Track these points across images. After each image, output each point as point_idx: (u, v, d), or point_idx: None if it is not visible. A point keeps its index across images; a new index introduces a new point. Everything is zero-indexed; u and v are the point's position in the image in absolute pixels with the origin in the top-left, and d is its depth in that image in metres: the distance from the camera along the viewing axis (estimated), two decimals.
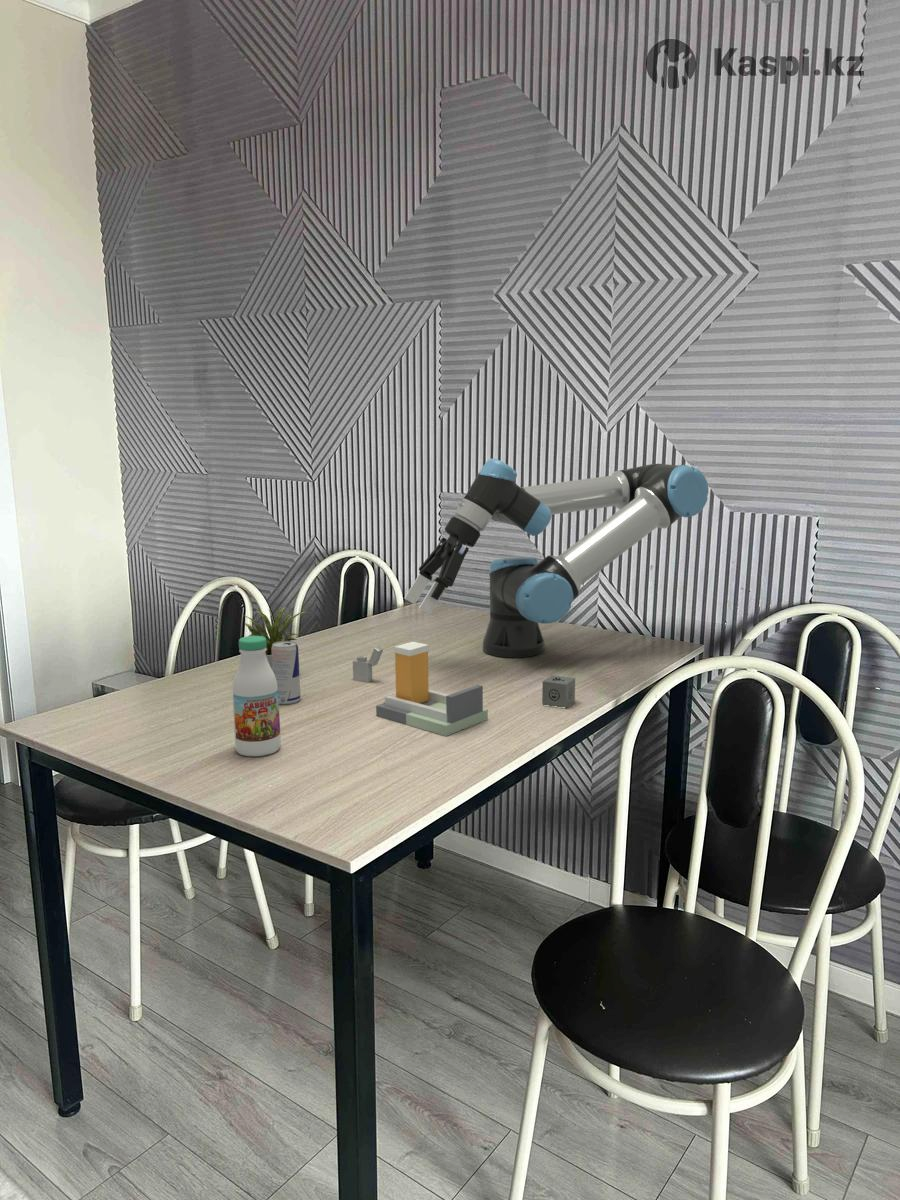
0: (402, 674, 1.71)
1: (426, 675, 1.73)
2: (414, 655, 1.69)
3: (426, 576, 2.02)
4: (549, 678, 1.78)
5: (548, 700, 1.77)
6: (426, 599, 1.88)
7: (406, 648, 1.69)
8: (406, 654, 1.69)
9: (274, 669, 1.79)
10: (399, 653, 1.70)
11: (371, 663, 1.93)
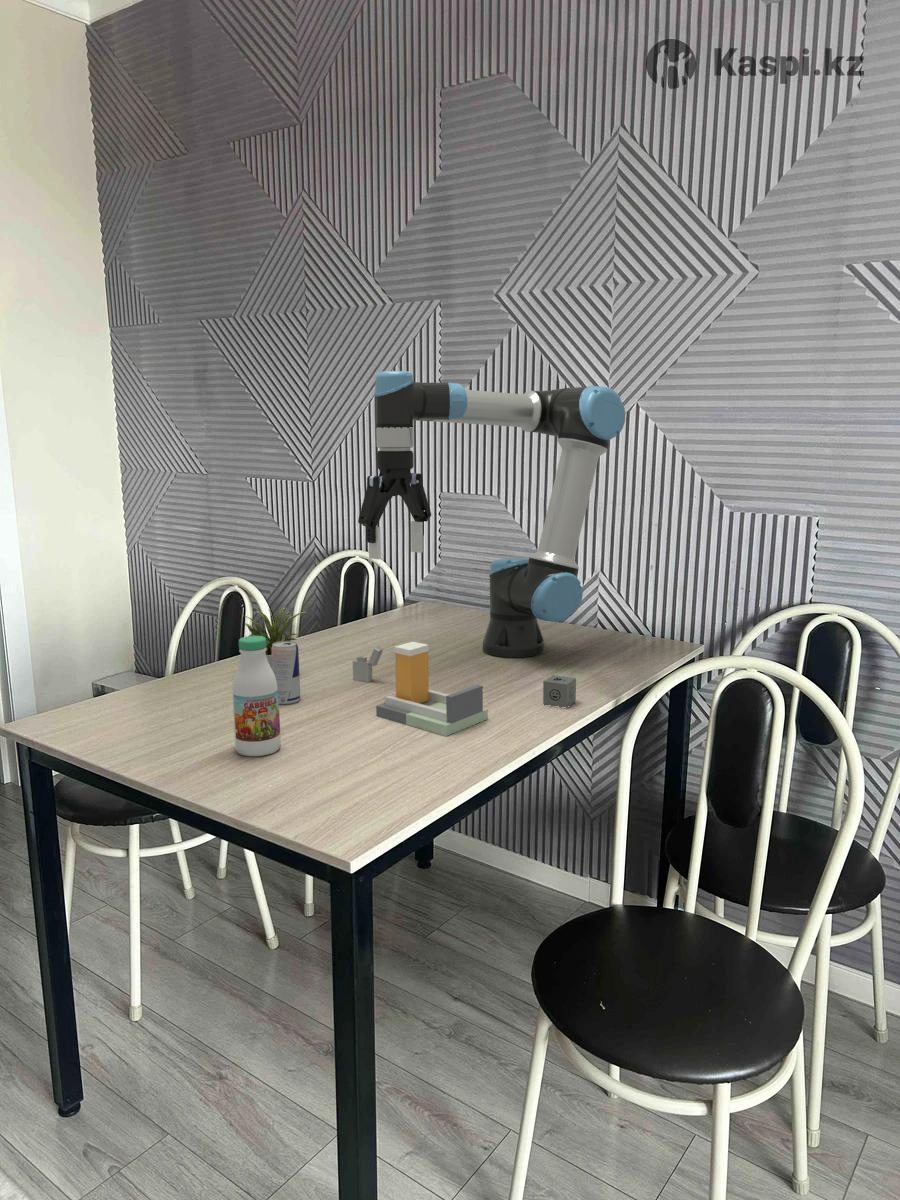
0: (402, 674, 1.71)
1: (426, 675, 1.73)
2: (414, 655, 1.69)
3: (419, 519, 1.88)
4: (550, 678, 1.78)
5: (549, 700, 1.77)
6: (369, 547, 1.80)
7: (406, 648, 1.69)
8: (406, 654, 1.69)
9: (274, 669, 1.79)
10: (399, 653, 1.70)
11: (371, 663, 1.93)
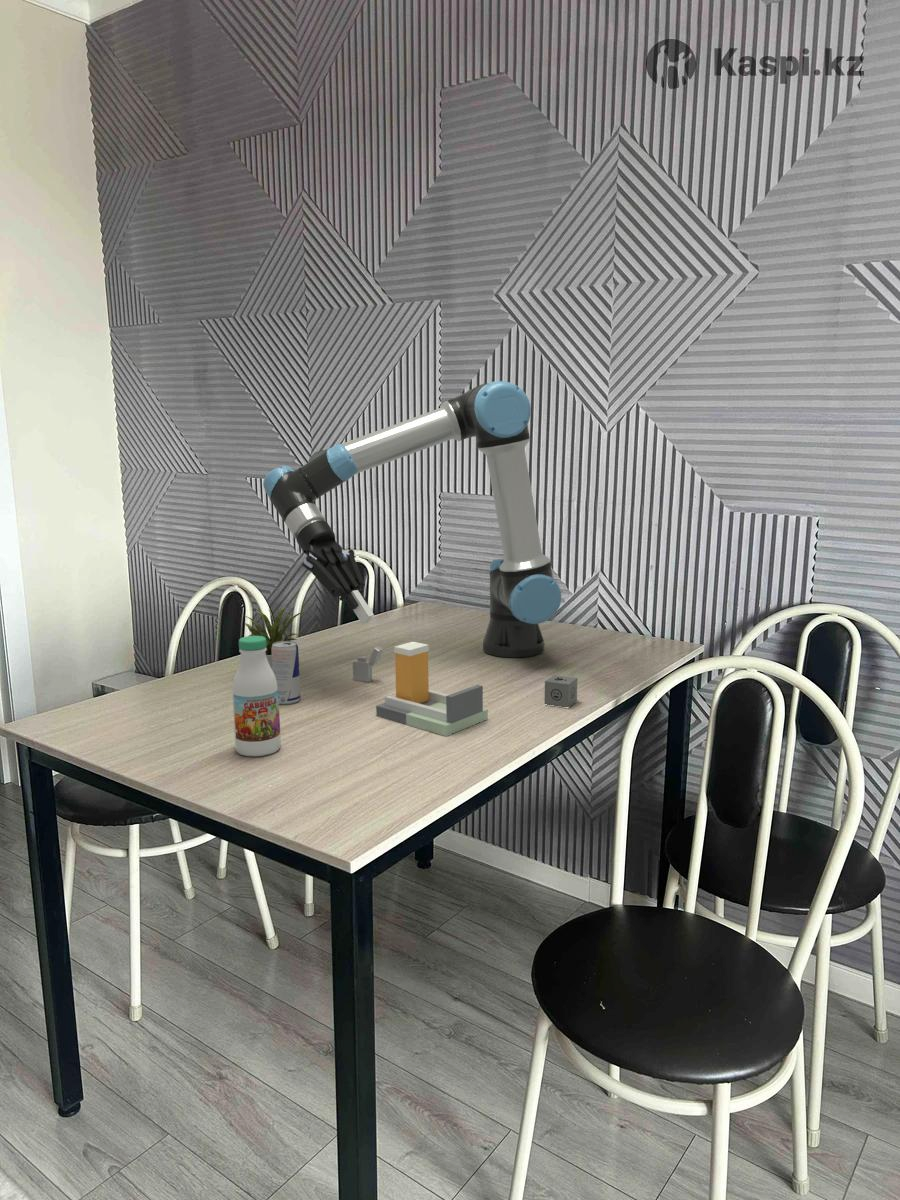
0: (402, 674, 1.71)
1: (426, 675, 1.73)
2: (414, 655, 1.69)
3: (353, 589, 1.81)
4: (551, 678, 1.78)
5: (550, 700, 1.77)
6: (357, 614, 1.79)
7: (406, 648, 1.69)
8: (406, 654, 1.69)
9: (274, 669, 1.79)
10: (399, 653, 1.70)
11: (371, 663, 1.93)
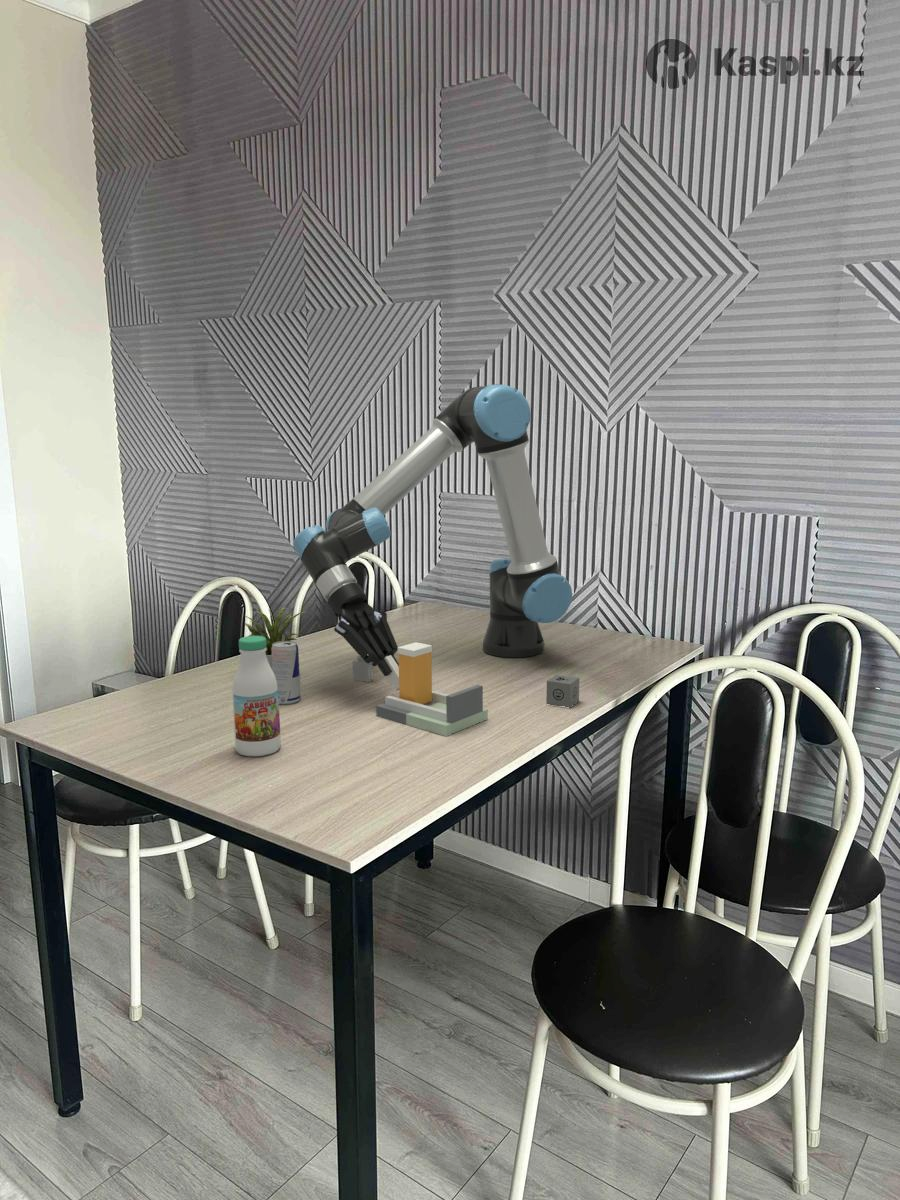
0: (405, 675, 1.70)
1: (429, 676, 1.72)
2: (417, 655, 1.69)
3: (386, 654, 1.77)
4: (553, 678, 1.79)
5: (552, 700, 1.77)
6: (390, 680, 1.75)
7: (409, 649, 1.69)
8: (409, 655, 1.68)
9: (274, 669, 1.79)
10: (402, 654, 1.69)
11: (371, 663, 1.93)
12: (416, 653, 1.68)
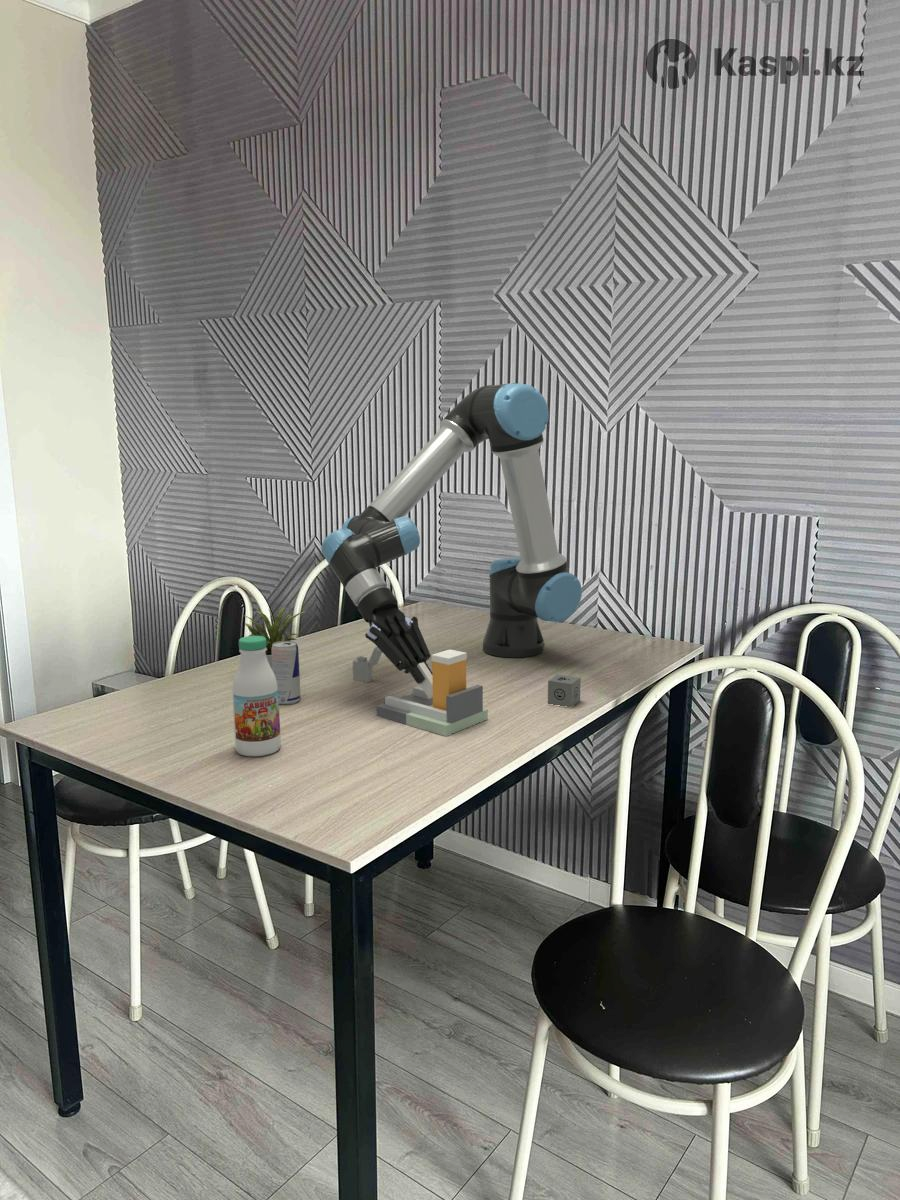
0: (439, 683, 1.64)
1: (464, 684, 1.66)
2: (452, 663, 1.63)
3: (418, 661, 1.71)
4: (554, 677, 1.79)
5: (553, 699, 1.77)
6: (423, 688, 1.69)
7: (444, 656, 1.63)
8: (444, 663, 1.63)
9: (274, 669, 1.79)
10: (436, 661, 1.64)
11: (371, 663, 1.93)
12: (451, 661, 1.62)
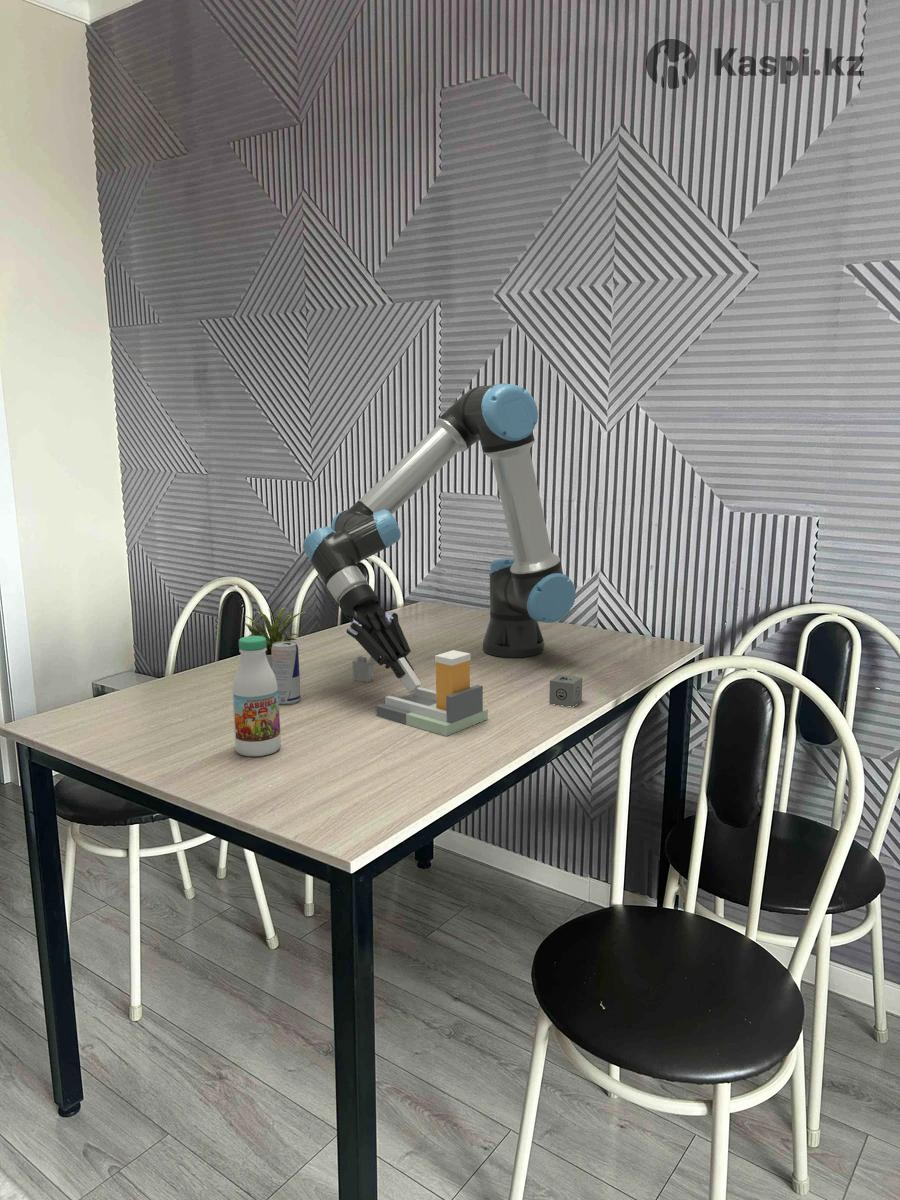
0: (443, 684, 1.64)
1: (468, 685, 1.66)
2: (456, 664, 1.62)
3: (399, 656, 1.75)
4: (556, 677, 1.79)
5: (555, 699, 1.77)
6: (403, 682, 1.73)
7: (448, 657, 1.62)
8: (448, 663, 1.62)
9: (274, 669, 1.79)
10: (440, 662, 1.63)
11: (371, 663, 1.93)
12: (455, 662, 1.62)
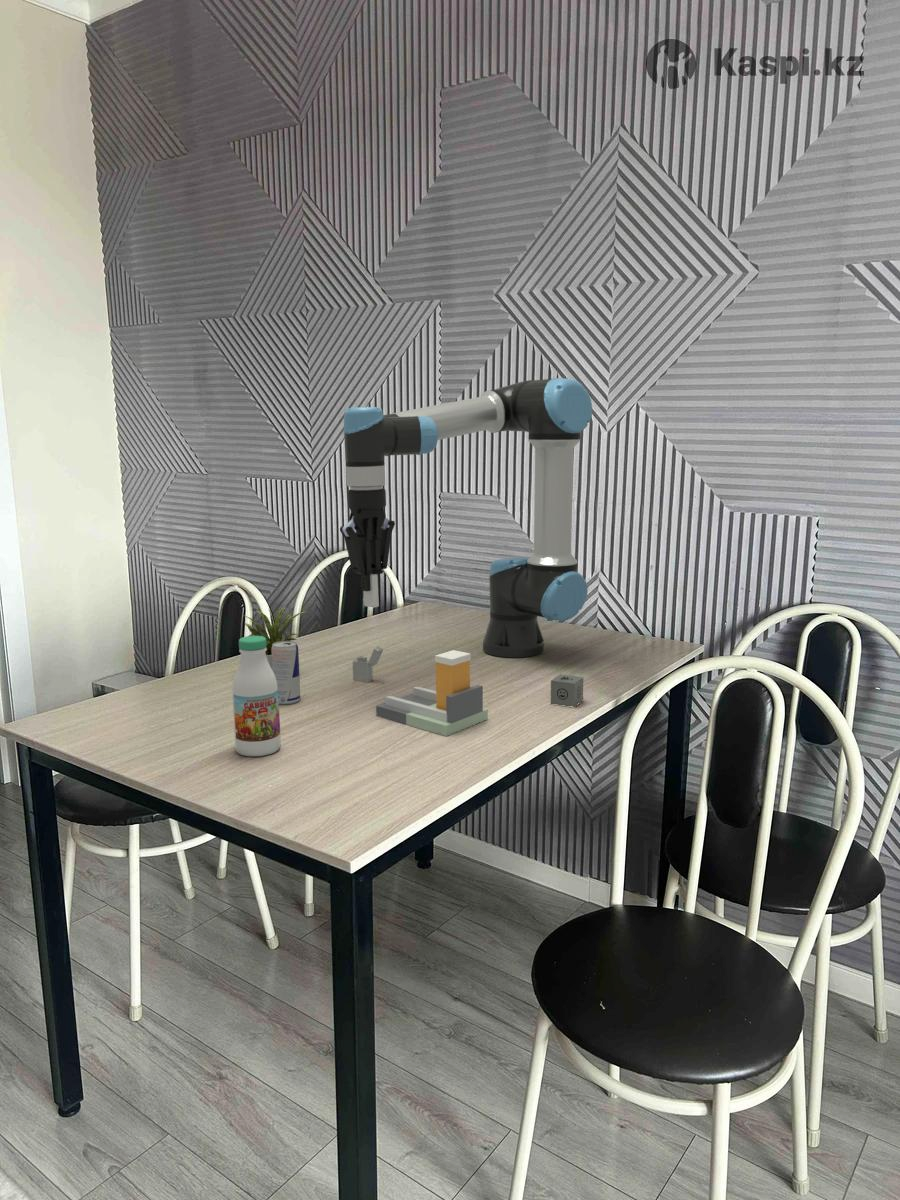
0: (443, 684, 1.64)
1: (468, 685, 1.66)
2: (456, 664, 1.62)
3: (373, 569, 1.77)
4: (557, 677, 1.79)
5: (556, 699, 1.77)
6: (364, 594, 1.78)
7: (448, 657, 1.62)
8: (448, 663, 1.62)
9: (274, 669, 1.79)
10: (440, 662, 1.63)
11: (371, 663, 1.93)
12: (455, 662, 1.62)
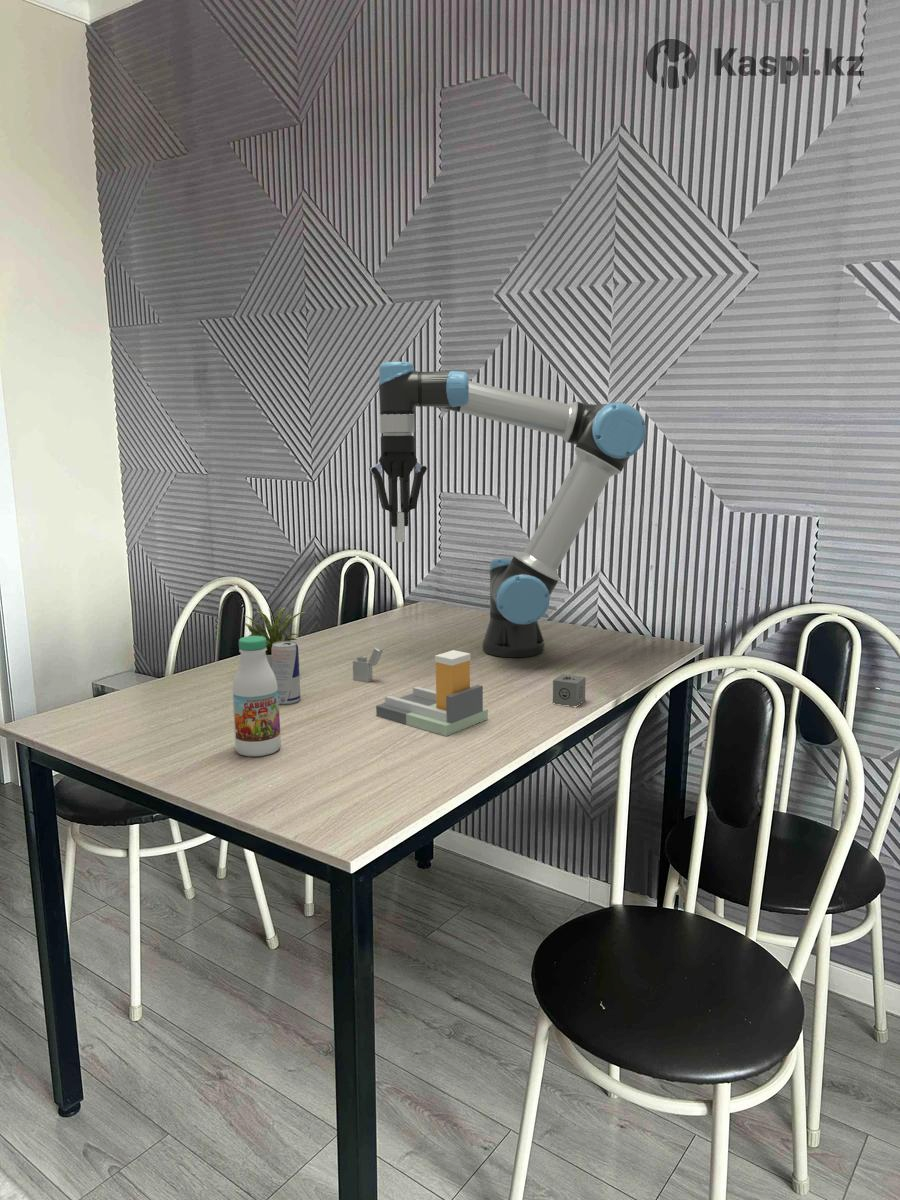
0: (443, 684, 1.64)
1: (468, 685, 1.66)
2: (456, 664, 1.62)
3: (402, 508, 1.98)
4: (559, 677, 1.79)
5: (558, 699, 1.77)
6: (395, 530, 2.00)
7: (448, 657, 1.62)
8: (448, 663, 1.62)
9: (274, 669, 1.79)
10: (440, 662, 1.63)
11: (371, 663, 1.93)
12: (455, 662, 1.62)
